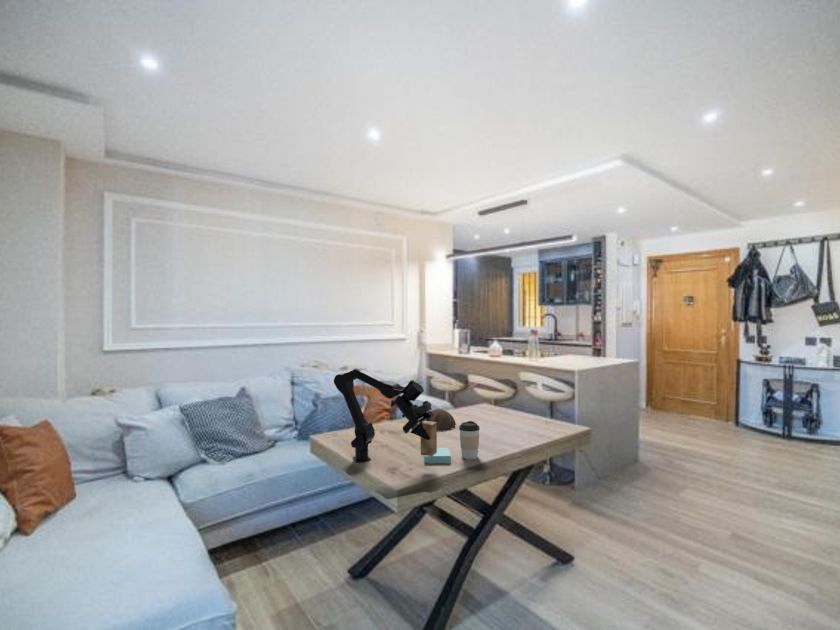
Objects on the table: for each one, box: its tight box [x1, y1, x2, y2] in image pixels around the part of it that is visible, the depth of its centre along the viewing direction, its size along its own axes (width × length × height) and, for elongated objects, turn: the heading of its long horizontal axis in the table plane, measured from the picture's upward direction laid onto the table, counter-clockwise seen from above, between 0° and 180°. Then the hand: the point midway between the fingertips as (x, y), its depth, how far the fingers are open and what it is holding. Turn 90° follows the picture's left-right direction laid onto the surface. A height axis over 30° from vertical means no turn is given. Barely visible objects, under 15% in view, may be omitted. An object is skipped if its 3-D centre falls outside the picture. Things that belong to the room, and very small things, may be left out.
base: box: [424, 447, 452, 464], centre depth 182 cm, size 11×11×3 cm
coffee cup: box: [459, 420, 480, 460], centre depth 184 cm, size 9×9×15 cm
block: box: [420, 421, 438, 456], centre depth 169 cm, size 5×5×12 cm
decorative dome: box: [430, 408, 457, 432], centre depth 236 cm, size 19×20×10 cm
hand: (431, 437), depth 168 cm, fingers closed on block, 5 cm apart
